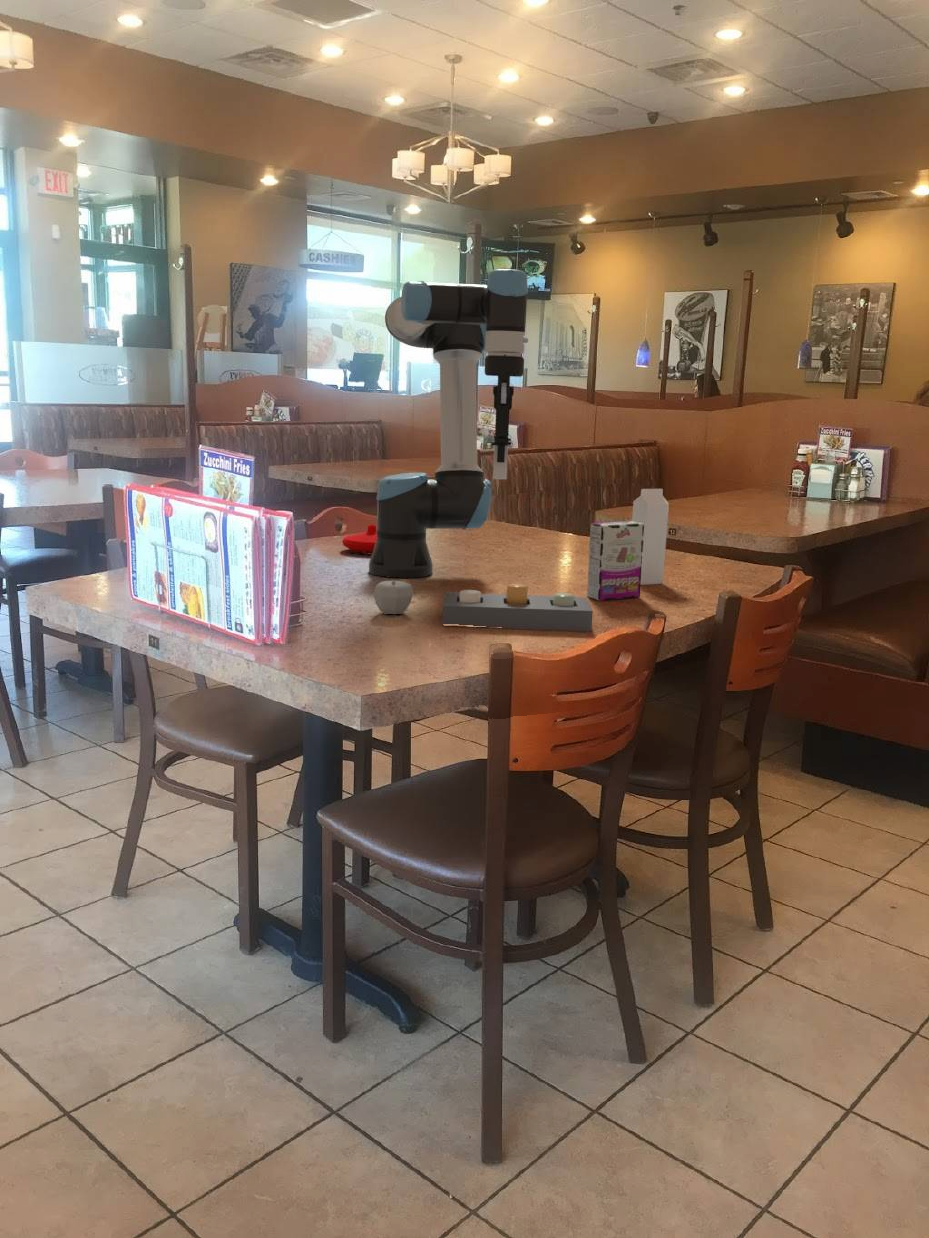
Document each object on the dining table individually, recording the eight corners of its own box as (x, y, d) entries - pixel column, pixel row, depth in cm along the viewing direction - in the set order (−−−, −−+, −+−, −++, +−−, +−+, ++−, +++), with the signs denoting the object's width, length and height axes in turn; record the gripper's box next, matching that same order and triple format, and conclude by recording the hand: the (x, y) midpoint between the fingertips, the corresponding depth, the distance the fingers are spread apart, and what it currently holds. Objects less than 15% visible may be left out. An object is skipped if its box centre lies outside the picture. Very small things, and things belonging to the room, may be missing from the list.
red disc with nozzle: (350, 545, 274) (350, 520, 273) (406, 549, 272) (407, 523, 271) (335, 555, 259) (335, 528, 258) (394, 558, 257) (395, 531, 256)
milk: (662, 584, 235) (671, 490, 230) (641, 585, 233) (648, 490, 228) (648, 579, 241) (656, 487, 235) (626, 580, 238) (634, 487, 233)
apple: (397, 620, 191) (398, 586, 190) (364, 614, 195) (365, 581, 194) (421, 613, 198) (421, 580, 196) (388, 607, 202) (389, 575, 200)
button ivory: (458, 616, 191) (459, 593, 190) (459, 612, 195) (460, 589, 194) (479, 617, 191) (480, 594, 190) (479, 612, 195) (480, 590, 194)
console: (442, 626, 188) (442, 605, 187) (444, 612, 199) (445, 592, 198) (591, 631, 187) (592, 611, 186) (585, 617, 199) (586, 597, 198)
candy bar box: (626, 593, 223) (632, 520, 219) (640, 598, 219) (646, 523, 215) (585, 596, 218) (589, 522, 214) (598, 601, 214) (603, 525, 210)
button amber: (506, 610, 191) (507, 587, 190) (505, 606, 195) (506, 583, 194) (527, 611, 191) (528, 588, 190) (526, 607, 195) (527, 584, 194)
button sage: (552, 620, 191) (554, 597, 190) (551, 615, 195) (552, 592, 194) (573, 620, 191) (575, 598, 190) (572, 616, 195) (573, 593, 194)
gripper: (525, 354, 185) (519, 482, 191) (523, 356, 198) (517, 476, 203) (485, 353, 185) (480, 481, 191) (485, 355, 198) (480, 475, 203)
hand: (499, 478), depth 197 cm, fingers closed
